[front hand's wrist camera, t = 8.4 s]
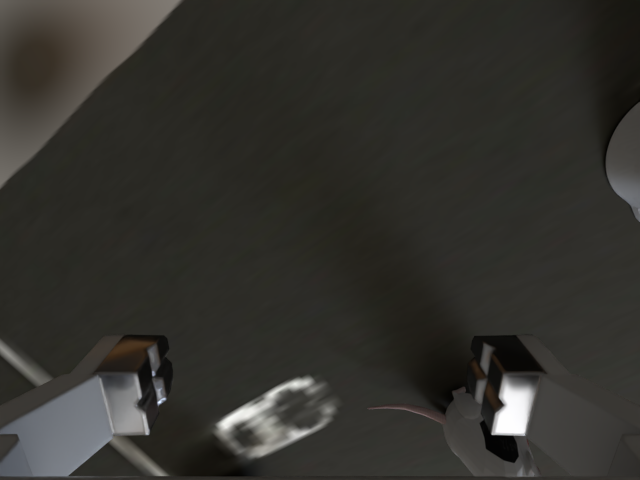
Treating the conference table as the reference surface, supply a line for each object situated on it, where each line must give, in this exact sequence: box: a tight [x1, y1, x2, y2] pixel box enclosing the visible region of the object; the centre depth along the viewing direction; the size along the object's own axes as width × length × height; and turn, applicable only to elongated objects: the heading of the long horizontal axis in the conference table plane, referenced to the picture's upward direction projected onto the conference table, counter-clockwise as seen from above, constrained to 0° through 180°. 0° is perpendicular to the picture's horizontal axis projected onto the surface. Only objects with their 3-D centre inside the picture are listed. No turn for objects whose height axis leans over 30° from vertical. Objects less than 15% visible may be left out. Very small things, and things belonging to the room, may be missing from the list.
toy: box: [368, 387, 541, 476], centre depth 54 cm, size 9×24×15 cm, turn 79°
